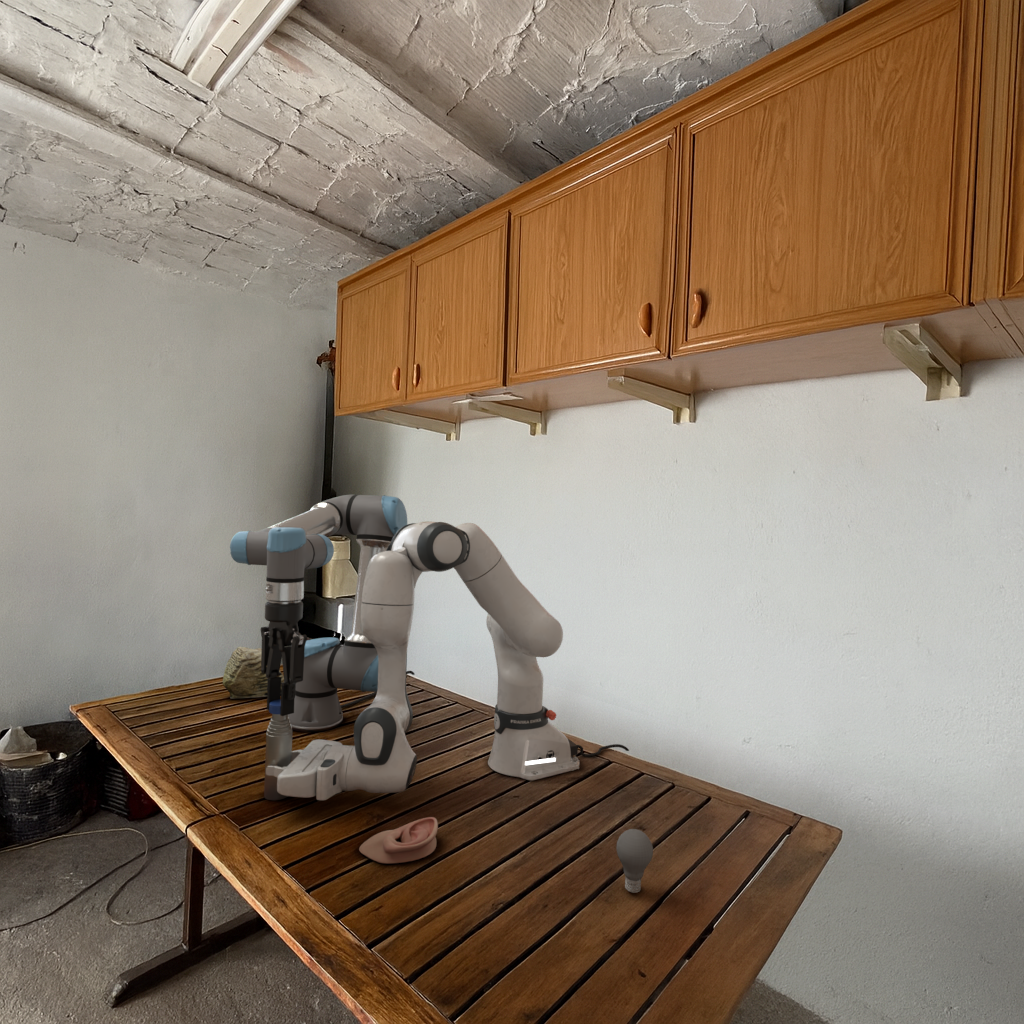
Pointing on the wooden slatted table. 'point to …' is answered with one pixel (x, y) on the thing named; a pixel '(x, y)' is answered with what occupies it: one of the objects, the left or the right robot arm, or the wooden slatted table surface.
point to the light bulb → (634, 857)
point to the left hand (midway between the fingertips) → (280, 711)
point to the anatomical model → (403, 842)
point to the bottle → (277, 752)
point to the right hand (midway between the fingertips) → (274, 762)
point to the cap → (275, 707)
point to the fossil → (246, 674)
